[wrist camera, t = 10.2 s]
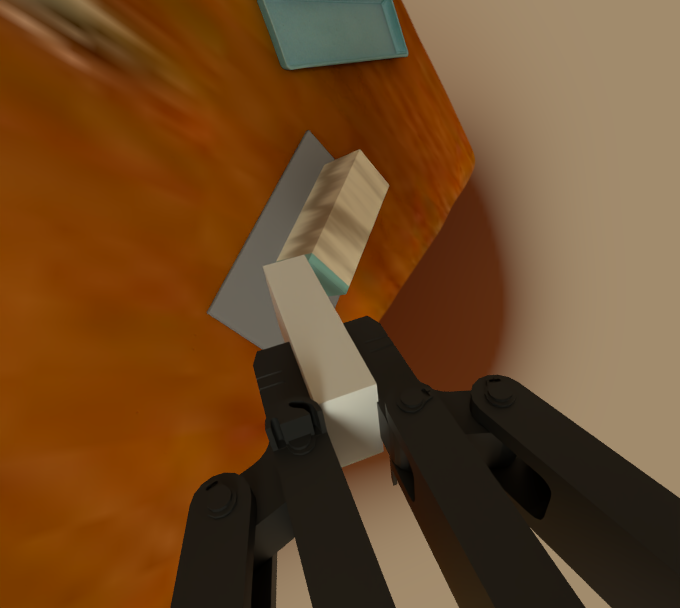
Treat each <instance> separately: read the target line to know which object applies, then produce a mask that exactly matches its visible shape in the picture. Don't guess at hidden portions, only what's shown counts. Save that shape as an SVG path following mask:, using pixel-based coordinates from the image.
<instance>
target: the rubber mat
mask: <svg viewBox="0 0 680 608" xmlns="http://www.w3.org/2000/svg"><path fill="white" fill-rule="evenodd" d="M334 160H335V159H334V158H333V157H332V156H331V155H330V154H329V153H328V151H327V150H326V149H325V148H324V147H323V146H322V144H321V143H320V142H319V141H318V140H317V139H316V138H315V136H314V135H313V134H312V133H311V132H310V131H309V130H307V131H306V133H305V135H304V137H303V138H302V140H301V142H300V144H299V146H298V147H297V149H296V151H295V153H294V155H293V157H292V158H291V160H290V162H289V164H288V166H287V168H286V169H285V171H284V173H283V175H282V177H281V178H280V180H279V182H278V184H277V186H276V188H275V189H274V191H273V193H272V195H271V197H270V198H269V200H268V202H267V204H266V206H265V208H264V209H263V211H262V213H261V215H260V217H259V219H258V220H257V222H256V224H255V226H254V228H253V229H252V231H251V233H250V235H249V237H248V239H247V240H246V242H245V244H244V246H243V248H242V249H241V251H240V253H239V255H238V257H237V259H236V260H235V262H234V264H233V266H232V268H231V270H230V271H229V273H228V275H227V277H226V279H225V280H224V282H223V284H222V286H221V288H220V290H219V291H218V293H217V295H216V297H215V299H214V300H213V302H212V304H211V306H210V308H209V310H208V311H207V313H208V314H209V315H211V316H212V317H214V318H215V319H217V320H218V321H220V322H221V323H223V324H224V325H226V326H227V327H229V328H230V329H232V330H234V331H235V332H237V333H238V334H240V335H241V336H243V337H244V338H246V339H247V340H249V341H250V342H252V343H253V344H255V345H256V346H258V347H260V348H261V349H263V350H264V349H267V348H270V347H273V346H276V345H280V344H283V343H285V341H284V339H283V336H282V333H281V330H280V328H279V325H278V321H277V317H276V313H275V310H274V306H273V302H272V299H271V295H270V291H269V288H268V284H267V280H266V277H265V273H264V269H263V266H265V265H269V264H272V263H276V261H277V259H278V257H279V255H280V253H281V251H282V249H283V247H284V245H285V243H286V241H287V239H288V237H289V235H290V233H291V231H292V229H293V227H294V225H295V223H296V221H297V219H298V217H299V215H300V213H301V211H302V209H303V207H304V205H305V203H306V201H307V199H308V197H309V195H310V193H311V191H312V189H313V187H314V185H315V183H316V181H317V179H318V176H319V174H320V172H321V170H322V168H323V166H324V165H325V164H327V163H330V162H332V161H334ZM339 296H340V295H336V296H328V298H329V300H330V302H331V303H332V305H333V307H334V309H335V306H336V304H337V301H338V299H339Z"/></svg>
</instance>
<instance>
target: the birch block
mask: <svg viewBox="0 0 680 608" xmlns="http://www.w3.org/2000/svg"><path fill="white" fill-rule="evenodd" d="M388 187H389V184H388V183H387V182H386V181H385V179H384V178H383V177H382V176H381V174H380V173H379V172H378V171H377V170H376V168H375V167H374V166H373V165H372V163H371V162H370V161H369V160H368V158H367V157H366V156H365V155H364V154H363V152H362V151H361V150H360V149H359V150H357V151H354V152H352V153H350V154H348V155H345V156H343V157H341V158H339V159H336V160H334V161H332V162H330V163H327V164H325V165H324V166H323V168H322V170H321V172H320V174H319V176H318V179H317V181H316V183H315V185H314V187H313V189H312V191H311V193H310V195H309V197H308V199H307V201H306V203H305V205H304V207H303V209H302V211H301V213H300V215H299V217H298V219H297V221H296V223H295V225H294V227H293V229H292V231H291V233H290V235H289V237H288V239H287V241H286V243H285V245H284V247H283V249H282V251H281V253H280V255H279V257H278V259H277V261H276V262H279V261H283V260H286V259H290V258H294V257H297V256H301V255H305V257H306V259H307V260H308V262H309V264H310V266H311V268H312V269H313V271H314V273H315V275H316V277H317V278H318V280H319V282H320V284H321V285H322V287H323V289H324V291H325V293H326V294H327V296H336V295H344V294H346V293H347V291H348V288H349V286H350V283H351V281H352V278H353V275H354V273H355V270H356V268H357V265H358V263H359V260H360V258H361V255H362V253H363V250H364V248H365V245H366V243H367V240H368V238H369V235H370V233H371V230H372V228H373V225H374V223H375V220H376V218H377V215H378V213H379V210H380V207H381V205H382V202H383V200H384V197H385V195H386V192H387V190H388Z"/></svg>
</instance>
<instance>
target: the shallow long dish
mask: <svg viewBox="0 0 680 608" xmlns="http://www.w3.org/2000/svg"><path fill="white" fill-rule="evenodd" d="M257 2H258V5H259V7H260V10H261V13H262V15H263V18H264V21H265V23H266V26H267V29H268V32H269V34H270V37H271V40H272V43H273V45H274V48H275V51H276V54H277V56H278V59H279V62H280V65H281V67H282V68H283V69H286V70H294V69H300V68H308V67H317V66H326V65H336V64H345V63H354V62H363V61H371V60H380V59H388V58H398V57H407V56H408V50H407V47H406V43H405V40H404V37H403V33H402V30H401V27H400V23H399V20H398V17H397V13H396V10H395V7H394V3H393V0H257Z"/></svg>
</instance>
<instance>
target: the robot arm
mask: <svg viewBox="0 0 680 608" xmlns="http://www.w3.org/2000/svg"><path fill="white" fill-rule="evenodd" d="M263 269H264V273H265V277H266V280H267V284H268V288H269V291H270V295H271V299H272V302H273V306H274V310H275V313H276V317H277V321H278V325H279V328H280V330H281V333H282V336H283V339H284V341H285V343H283V344H280V345H276V346H273V347H270V348H267V349H264V350H261V351H257V353H256V357H255V360H254V364H253V367H254V371H255V375H256V379H257V383H258V387H259V390H260V395H261V399H262V403H263V407H264V411H265V414H266V420H265V430H266V433H267V436H268V439H269V445H268V447H267V449H266V452H265V453H264V454H263V456H262V457H261V458H260V459H259V460H258V461H257V462H256V463H255V464H254V465H252V466H251V467H250V468H248V469H247V470H246V471H244V472H243V473H241V474H240V475H238V474H236V473H222V474H219V475H216V476H213V477H212V478H210V479H209V480H207V481H206V482H204V483H203V484H202V485H201V486H200V488H199V489H198V490H197V491H196V493H195V494H194V496H193V499H192V501H191V504H190V508H189V513H188V518H187V523H186V529H185V534H184V539H183V544H182V550H181V555H180V560H179V566H178V571H177V576H176V581H175V587H174V592H173V597H172V602H171V608H276V579H277V578H276V577H277V552H278V551H279V550H280V549H281V548H283V547H284V546H285V545H286V544H287V543H289V542H290V541H291V540H292V539H293V538H294V537H295V539H296V543H297V547H298V551H299V555H300V559H301V563H302V567H303V571H304V575H305V579H306V583H307V587H308V591H309V595H310V599H311V603H312V607H313V608H396V607H395V605H394V602H393V599H392V597H391V594H390V592H389V589H388V587H387V584H386V581H385V579H384V577H383V574H382V571H381V569H380V566H379V564H378V561H377V558H376V556H375V553H374V551H373V548H372V545H371V543H370V540H369V538H368V535H367V533H366V530H365V528H364V525H363V522H362V520H361V517H360V515H359V512H358V510H357V507H356V504H355V502H354V499H353V497H352V494H351V491H350V489H349V486H348V484H347V481H346V479H345V476H344V474H343V471H342V467H344V466H347V465H350V464H352V463H355V462H357V461H360V460H362V459H365V458H368V457H370V456H373V455H376V454H378V453H381V452H383V443H384V445H385V447H386V449H387V451H388V453H389V455H390V466H391V478H392V482H393V485H396V484H397V481H398V483H399V485H400V487H401V489H402V491H403V493H404V495H405V497H406V499H407V502H408V504H409V506H410V507H411V509H412V512H413V514H414V516H415V518H416V520H417V522H418V524H419V526H420V528H421V530H422V532H423V534H424V536H425V538H426V541H427V542H428V544H429V547H430V549H431V551H432V553H433V555H434V557H435V559H436V561H437V563H438V565H439V567H440V569H441V571H442V573H443V575H444V577H445V580H446V582H447V583H448V586H449V588H450V590H451V592H452V594H453V596H454V598H455V600H456V602H457V604H458V606H459V608H585V606H584V605H583V603H582V602H581V601H580V599H579V598H578V596H577V595H576V593H575V592H574V590H573V589H572V588H571V586H570V585H569V583H568V582H567V580H566V579H565V578H564V576H563V575H562V573H561V572H560V570H559V569H558V568H557V566H556V565H555V563H554V562H553V560H552V559H551V558H550V556H549V555H548V553H547V552H546V550H545V549H544V547H543V546H542V544H541V543H540V542H539V540H538V539H537V537H536V536H535V534H534V533H533V531H534V532H535V533H536V534H537V535H538V536H539V537H540V538H541V539H542V540H543V541H544V542H545V543H546V544H547V545H548V546H550V548H552V549H553V550H554V551H555V552H556V553H557V554H558V555H559V556H560V557H561V558H562V559H563V560H564V561H565V562H566V563H567V564H568V565H569V566H570V567H571V568H572V569H573V570H574V571H575V572H576V573H577V574H578V575H579V576H580V577H581V578H582V579H583V580H584V581H585V582H586V583H587V584H588V585H589V586H590V587H591V588H592V589H593V590H594V591H595V592H596V593H597V594H598V595H599V596H600V597H601V598H602V599H604V601H606V602H607V604H608V605H610V607H612V608H680V498H679V497H677V496H676V495H674V494H673V493H672V492H670V491H669V490H668V489H666V488H665V487H663V486H662V485H661V484H659V483H658V482H656V481H655V480H654V479H652V478H651V477H649V476H648V475H647V474H645V473H644V472H643V471H641V470H640V469H638V468H637V467H636V466H634V465H633V464H631V463H630V462H629V461H627V460H626V459H624V458H623V457H622V456H620V455H619V454H617V453H616V452H615V451H613V450H612V449H611V448H609V447H608V446H606V445H605V444H604V443H602V442H601V441H599V440H598V439H597V438H595V437H594V436H592V435H591V434H589V433H588V432H587V431H585V430H584V429H583V428H581V427H580V426H578V425H577V424H576V423H574V422H573V421H571V420H570V419H568V418H567V417H566V416H564V415H563V414H562V413H560V412H559V411H557V410H556V409H554V408H553V407H552V406H551V405H549V404H548V403H547V402H545V401H544V400H542V399H541V398H539V397H538V396H537V395H535V394H534V393H532V392H531V391H530V390H528V389H527V388H526V387H524V386H523V385H521V384H520V383H519V382H517V381H515V380H513V379H511V378H509V377H506V376H501V375H487V376H485V377H482V378H480V379H478V380H477V381H476V382H475V383H474V384H473V386H472V390H471V391H455V392H442V391H437V390H433V389H432V388H431V387H430V386H428V385H426V384H424V383H421V382H420V381H419V380H418V379H417V378H416V376H415V375H414V373H413V372H412V371H411V369H410V367H409V366H408V365H407V363H406V362H405V360H404V359H403V357H402V355H401V354H400V353H399V351H398V350H397V348H396V347H395V346H394V344H393V342H392V341H391V339H390V338H389V337H388V336H387V333H386V332H385V330H384V329H383V327H382V326H381V324H380V323H378V322H377V321H375V320H373V319H372V318H370V317H368V316H365V317H362V318H358V319H355V320H352V321H349V322H346V323H342V321H341V319H340V318H339V316H338V314H337V312H336V310H335V309H334V307H333V305H332V303H331V302H330V300H329V298H328V296H327V294H326V293H325V291H324V289H323V287H322V285H321V284H320V282H319V280H318V278H317V277H316V275H315V273H314V271H313V269H312V268H311V266H310V264H309V262H308V260H307V259H306V257H305V255H301V256H297V257H294V258H290V259H286V260H283V261H279V262H276V263H272V264H269V265H265V266H263ZM382 441H383V442H382ZM530 528H531V529H532V530H533V531H532V530H531V529H530Z"/></svg>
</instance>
